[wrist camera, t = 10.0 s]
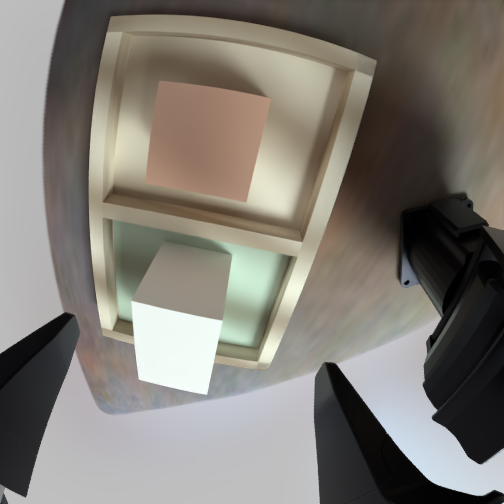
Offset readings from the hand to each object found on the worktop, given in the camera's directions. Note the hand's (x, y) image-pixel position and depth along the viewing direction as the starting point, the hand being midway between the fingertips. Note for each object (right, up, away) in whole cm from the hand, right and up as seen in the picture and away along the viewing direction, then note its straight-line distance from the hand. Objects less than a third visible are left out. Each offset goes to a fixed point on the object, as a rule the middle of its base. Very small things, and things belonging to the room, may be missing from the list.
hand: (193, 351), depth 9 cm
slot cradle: (-1, +6, +9) cm, 11 cm away
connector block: (-2, +1, +11) cm, 11 cm away
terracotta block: (0, +10, +6) cm, 11 cm away
